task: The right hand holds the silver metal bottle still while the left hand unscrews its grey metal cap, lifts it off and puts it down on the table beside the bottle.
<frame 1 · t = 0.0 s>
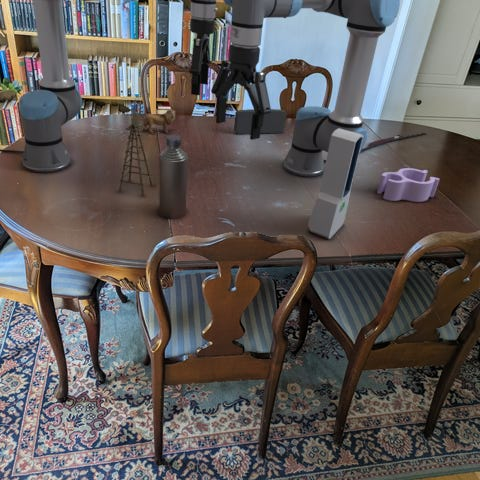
left hand: (199, 89, 153), 28 cm above the table, tool pointing down, fingers open, 13 cm apart
right hand: (237, 130, 124), 28 cm above the table, tool pointing down, fingers open, 13 cm apart
clip: (404, 194, 166), on the table
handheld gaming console: (258, 133, 205), on the table
cap: (173, 138, 128), point 23 cm above the table, screwed on, not yet turned
sword: (389, 141, 212), on the table
electronic device: (325, 228, 140), on the table
lion figurine: (159, 131, 195), on the table
bottle: (172, 211, 140), on the table
miniature windmill: (135, 188, 150), on the table
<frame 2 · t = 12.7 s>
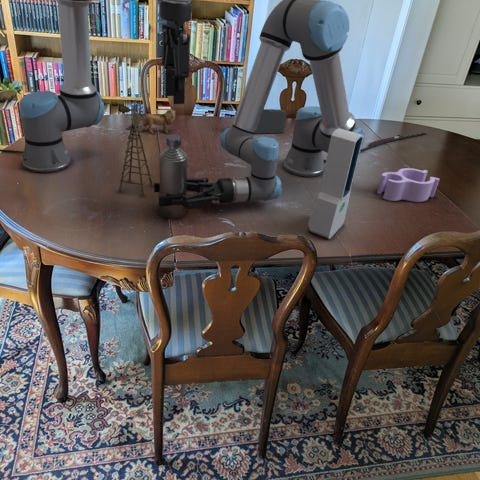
left hand: (174, 99, 122), 34 cm above the table, tool pointing down, fingers open, 6 cm apart
right hand: (156, 194, 135), 6 cm above the table, tool horizontal, fingers closed on bottle, 8 cm apart
bottle: (172, 211, 140), on the table, touching right hand
everything else where it was.
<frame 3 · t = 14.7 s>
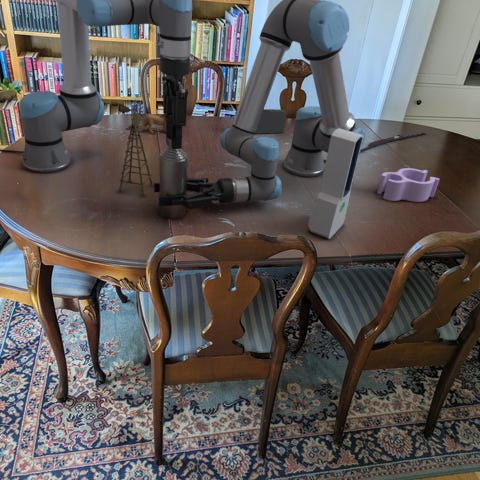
left hand: (173, 145, 129), 21 cm above the table, tool pointing down, fingers closed on cap, 4 cm apart
right hand: (156, 194, 135), 6 cm above the table, tool horizontal, fingers closed on bottle, 8 cm apart
cap: (173, 138, 128), point 23 cm above the table, screwed on, not yet turned, touching left hand
bottle: (172, 211, 140), on the table, touching right hand
everything else where it was.
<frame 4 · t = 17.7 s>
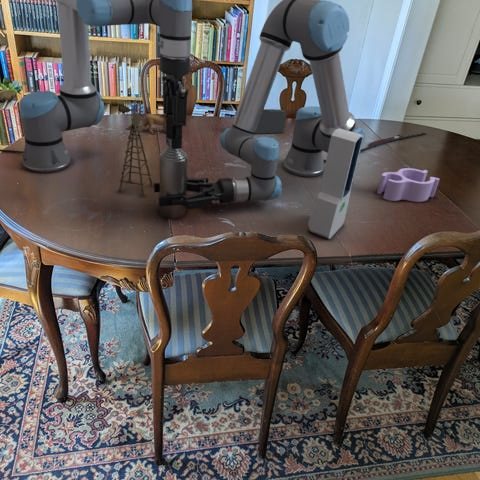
left hand: (173, 144, 129), 21 cm above the table, tool pointing down, fingers closed on cap, 4 cm apart
right hand: (156, 194, 135), 6 cm above the table, tool horizontal, fingers closed on bottle, 8 cm apart
cap: (173, 138, 128), point 23 cm above the table, turned 86° so far, risen 0.1 cm, still on its thread, touching left hand
bottle: (172, 211, 140), on the table, touching right hand
everything else where it was.
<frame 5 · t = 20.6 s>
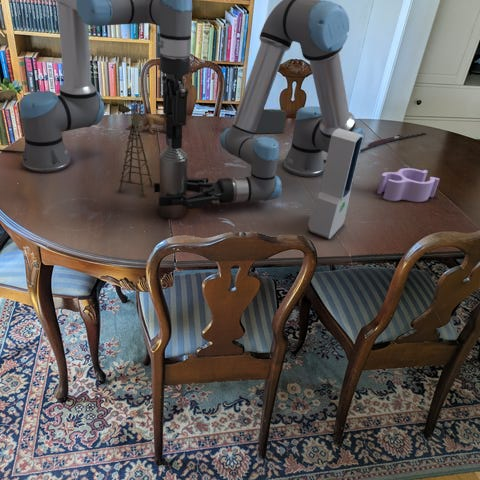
left hand: (173, 144, 129), 21 cm above the table, tool pointing down, fingers closed on cap, 4 cm apart
right hand: (156, 194, 135), 6 cm above the table, tool horizontal, fingers closed on bottle, 8 cm apart
cap: (173, 138, 128), point 23 cm above the table, turned 172° so far, risen 0.1 cm, still on its thread, touching left hand
bottle: (172, 211, 140), on the table, touching right hand
everything else where it was.
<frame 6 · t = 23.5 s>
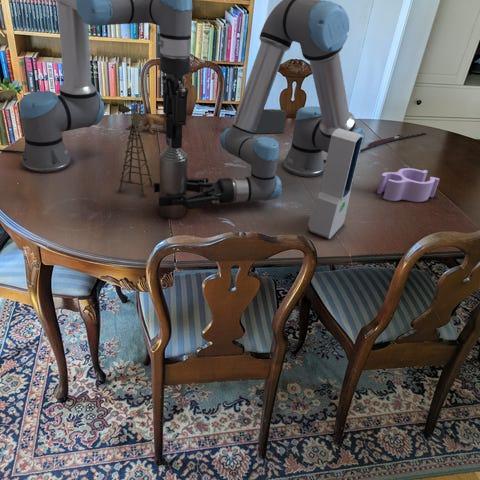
left hand: (173, 144, 129), 21 cm above the table, tool pointing down, fingers closed on cap, 4 cm apart
right hand: (156, 194, 135), 6 cm above the table, tool horizontal, fingers closed on bottle, 8 cm apart
cap: (173, 137, 128), point 23 cm above the table, turned 259° so far, risen 0.2 cm, still on its thread, touching left hand
bottle: (172, 211, 140), on the table, touching right hand
everything else where it was.
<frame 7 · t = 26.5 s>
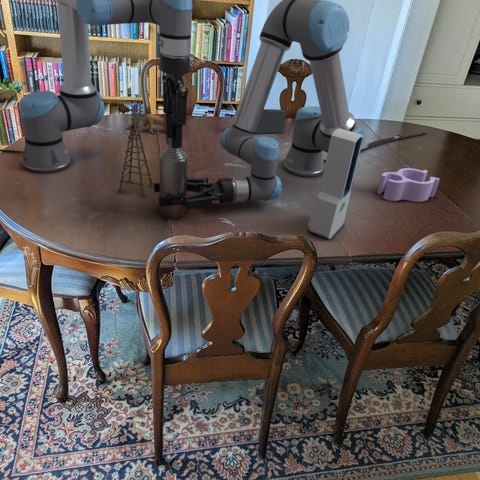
left hand: (173, 144, 129), 22 cm above the table, tool pointing down, fingers closed on cap, 4 cm apart
right hand: (156, 194, 135), 6 cm above the table, tool horizontal, fingers closed on bottle, 8 cm apart
cap: (173, 137, 128), point 23 cm above the table, turned 345° so far, risen 0.3 cm, still on its thread, touching left hand
bottle: (172, 211, 140), on the table, touching right hand
everything else where it was.
when the left hand's fingers open (1 cm above the table, at t = 36.8 s): cap drops 2 cm, point 2 cm above the table.
when the right hand's fingers open (6 cm above the table, at t = 38.1 s): bottle stays where it is, on the table.
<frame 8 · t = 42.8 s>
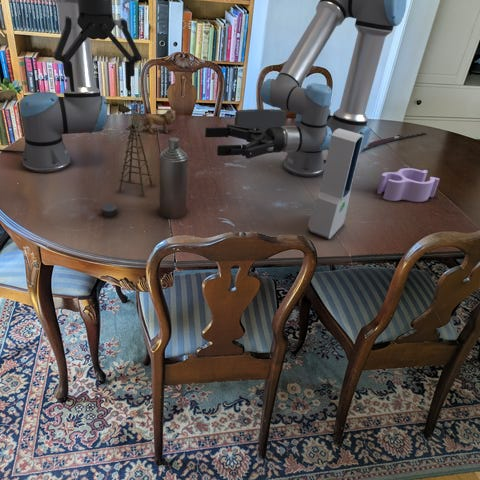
left hand: (101, 90, 117), 36 cm above the table, tool pointing down, fingers open, 13 cm apart
right hand: (211, 141, 131), 22 cm above the table, tool horizontal, fingers open, 13 cm apart
cap: (109, 208, 135), point 2 cm above the table, off its thread
bottle: (172, 211, 140), on the table
everything else where it was.
at the end: cap came off its thread; cap point 1.8 cm above the table; the left hand is holding nothing; the right hand is holding nothing; bottle tilted 0°; bottle moved 0.0 cm from its start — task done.
